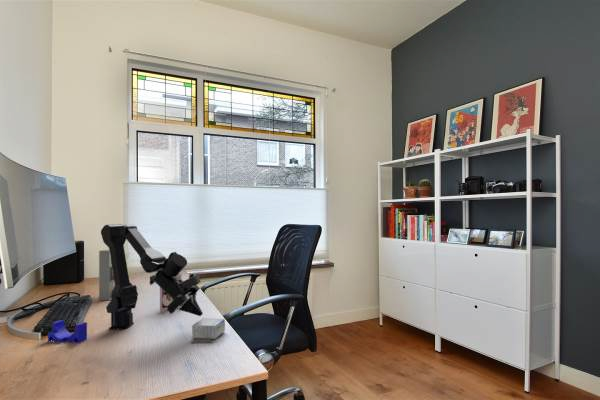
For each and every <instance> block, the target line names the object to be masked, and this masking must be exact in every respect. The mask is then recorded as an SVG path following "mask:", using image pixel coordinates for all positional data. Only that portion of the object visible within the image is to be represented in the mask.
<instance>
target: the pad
mask: <svg viewBox="0 0 600 400" xmlns="http://www.w3.org/2000/svg"><path fill="white" fill-rule="evenodd" d="M212 340H213V339H208V338H193V340H192V341H191V344H207V343H208V344H209V343H211V342H212Z"/></svg>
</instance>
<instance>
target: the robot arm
mask: <svg viewBox="0 0 600 400" xmlns="http://www.w3.org/2000/svg"><path fill="white" fill-rule="evenodd" d="M100 235H101V238H102V242H103V243H104V244H105V245H106V246H107V248H108V249H109V250H110V256H111V263H112V269H113V275H114V282H115V287H114V289H113V291H112V299H111V300H109V302H108V304H107V306H106V308H105V309H106V312H107V314H110V326H109V327H108V330H126V329H128V328H129V327H132V325H134V324H135V322H134V313H133V312H132V310H133V309H135V308H136V305H137V302H138V296H139V293H138V288H137V285H136V284H133V283H132V282H131V281H130V275H129V270H128V265H127V259H126V252H125V248H124V247H125V246H124V245H125V243H126V241H128V243H129V244H130V246H131V247H132V249H133V250H134V251H135V252H136V254H137V255H138V256H139V258H140V260H139V264H140V265H141V267H142V269H143V271H144V272H145V273H149V274H151V273H155V274H153V275H151V276H150V277H149V285H150V286H152V285H153V284H154V283H155V284H157V286H158V287H159V288H160V287H161V288H162V289H163V290H164V291H165V293H164V295H169V296H170V297H171V298H172V299H173V301H172V302H171V303H170V304H169V305H168V306H167V311H166V312H168V313H169V314H170V315H172V314H174V313H175V311H176V310H177V309H178V308H179V309H178V311H182V312H186V313H189V314H192V315H196V316H197V317H198V316H199V317H202V315H203V310H202V309H201V307H200V306H199V304H198V302H197V293H198V291H200V289H201V288H200V286H198V285H199V284H200V283H201V279H200V278H201V276H200V275H199V274H198V273H197V274H196V273H195V272H192V273H191V274H189V275H188V278H187V279H185V280H183V279H179V280H178V279H177V278H176V276H177V275H178V274H181V272H182V270H184V269H185V267H186V266H187V264H188V260H187V259H186V257H184V256H183V255H181V254H179V253H177V251H173V252H170V254H169V255H168V257H166V256H165V255H164V254H163V253H162V252H160V251H159V250H156V249H154V248H153V247H152V246H151V245H150V244H149V242H148V241H147V240H146V239H145V237H144V236H143V235H142V234H141V232H140V231H139V229H138V227H137V226H136V225H135V224H122V223H117V224H115V223H114V224H113V223H112V224H105V225H103V227H102V228H101V230H100ZM179 306H180V307H179Z"/></svg>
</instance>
